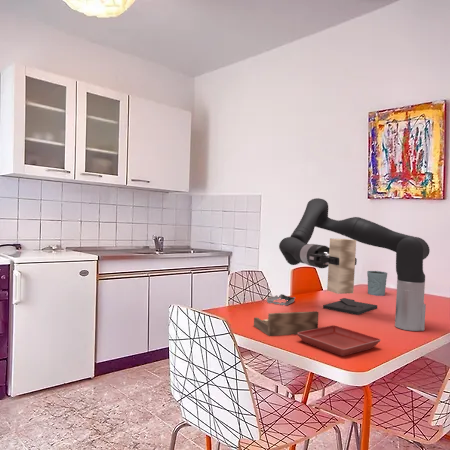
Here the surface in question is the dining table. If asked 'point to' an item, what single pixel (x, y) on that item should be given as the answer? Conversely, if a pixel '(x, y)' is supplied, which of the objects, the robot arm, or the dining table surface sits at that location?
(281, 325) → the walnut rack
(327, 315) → the dining table surface
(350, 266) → the birch block
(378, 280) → the grey-blue cup
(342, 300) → the picture frame
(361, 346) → the plant saucer
